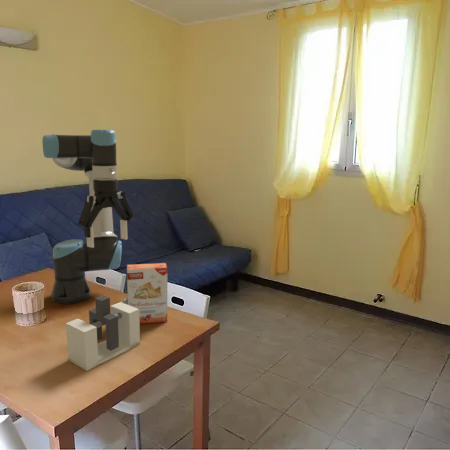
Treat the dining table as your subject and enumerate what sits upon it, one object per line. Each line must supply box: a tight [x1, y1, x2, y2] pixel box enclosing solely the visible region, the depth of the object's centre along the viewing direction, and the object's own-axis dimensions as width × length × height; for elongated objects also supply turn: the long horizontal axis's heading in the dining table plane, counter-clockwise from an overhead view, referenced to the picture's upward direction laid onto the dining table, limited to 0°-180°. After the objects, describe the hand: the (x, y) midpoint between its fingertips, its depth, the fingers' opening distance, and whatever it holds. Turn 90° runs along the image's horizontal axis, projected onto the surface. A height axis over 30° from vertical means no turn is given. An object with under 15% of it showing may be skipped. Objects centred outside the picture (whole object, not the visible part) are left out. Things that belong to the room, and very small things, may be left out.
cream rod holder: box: [65, 301, 141, 372], centre depth 127 cm, size 9×20×12 cm, turn 143°
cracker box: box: [126, 262, 168, 325], centre depth 148 cm, size 14×6×21 cm, turn 103°
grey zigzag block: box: [88, 295, 119, 351], centre depth 126 cm, size 10×3×15 cm, turn 53°
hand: (108, 242), depth 137 cm, fingers open, 13 cm apart
